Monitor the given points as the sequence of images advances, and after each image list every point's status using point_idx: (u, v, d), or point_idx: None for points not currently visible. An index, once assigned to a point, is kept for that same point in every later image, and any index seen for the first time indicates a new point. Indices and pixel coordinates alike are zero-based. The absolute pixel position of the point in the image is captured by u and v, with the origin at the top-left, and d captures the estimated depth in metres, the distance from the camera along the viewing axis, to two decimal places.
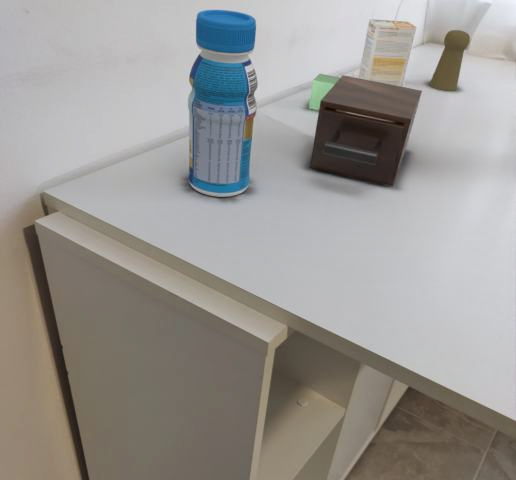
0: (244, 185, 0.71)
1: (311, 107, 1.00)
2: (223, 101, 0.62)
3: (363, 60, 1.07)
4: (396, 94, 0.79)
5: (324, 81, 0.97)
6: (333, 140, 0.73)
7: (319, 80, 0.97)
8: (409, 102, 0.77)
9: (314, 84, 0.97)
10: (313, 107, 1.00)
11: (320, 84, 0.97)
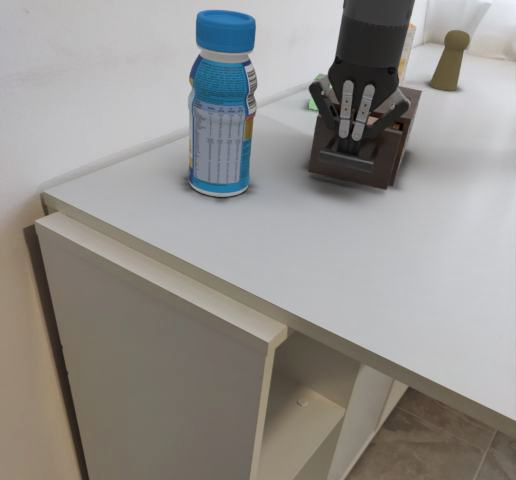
0: (244, 185, 0.71)
1: (311, 107, 1.00)
2: (223, 101, 0.62)
3: None
4: None
5: None
6: (328, 147, 0.71)
7: None
8: None
9: None
10: (313, 107, 1.00)
11: None
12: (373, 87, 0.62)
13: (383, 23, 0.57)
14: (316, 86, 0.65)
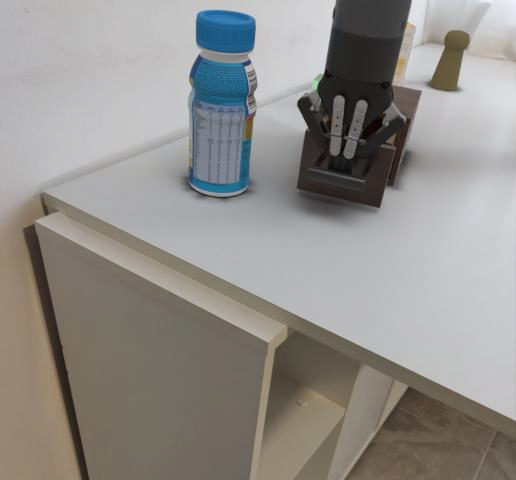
0: (244, 185, 0.71)
1: None
2: (223, 101, 0.62)
3: None
4: (396, 94, 0.79)
5: None
6: (318, 163, 0.66)
7: (319, 80, 0.97)
8: (409, 102, 0.77)
9: (314, 84, 0.97)
10: None
11: None
12: (366, 103, 0.58)
13: (376, 35, 0.52)
14: (305, 101, 0.61)
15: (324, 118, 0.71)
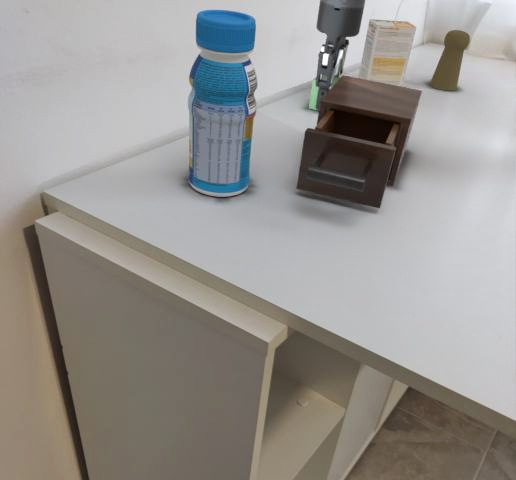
0: (244, 185, 0.71)
1: (311, 107, 1.00)
2: (223, 101, 0.62)
3: (363, 60, 1.07)
4: (396, 94, 0.79)
5: None
6: (317, 163, 0.66)
7: None
8: (409, 102, 0.77)
9: (314, 84, 0.97)
10: (313, 107, 1.00)
11: None
12: (347, 45, 0.95)
13: None
14: (333, 56, 0.90)
15: (324, 118, 0.71)
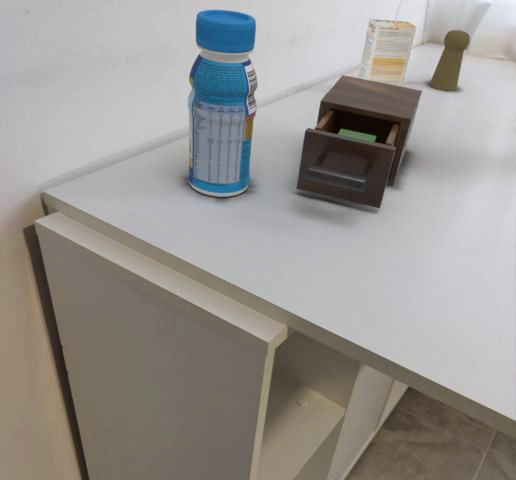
0: (244, 185, 0.71)
1: None
2: (223, 101, 0.62)
3: (363, 60, 1.07)
4: (396, 94, 0.79)
5: None
6: (317, 163, 0.66)
7: None
8: (409, 102, 0.77)
9: None
10: None
11: None
12: None
13: None
14: None
15: (324, 118, 0.71)
